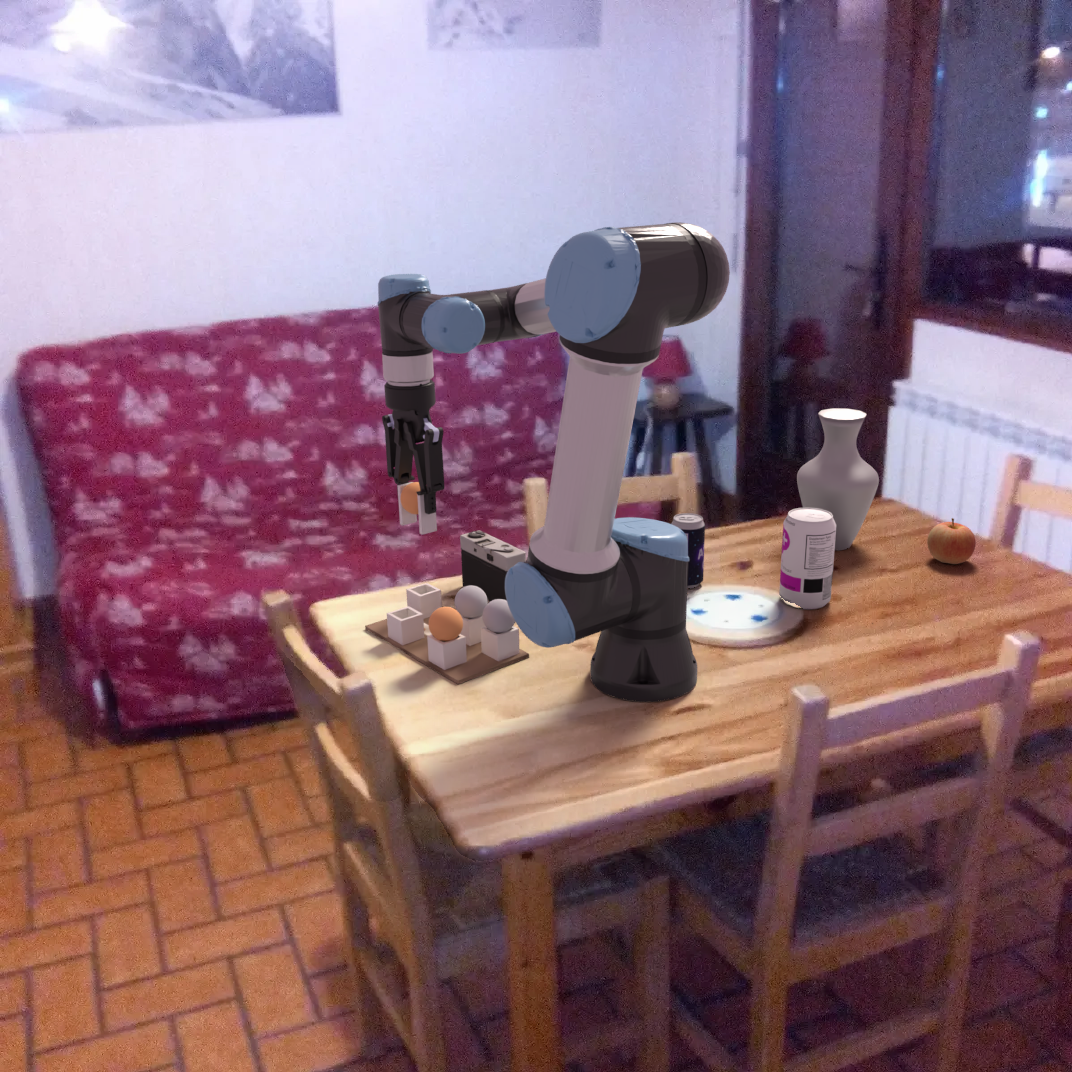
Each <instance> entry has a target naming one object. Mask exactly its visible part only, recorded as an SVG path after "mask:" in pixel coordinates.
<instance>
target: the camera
mask: <svg viewBox="0 0 1072 1072" xmlns="http://www.w3.org/2000/svg"><path fill="white" fill-rule="evenodd" d="M459 536H460V537H459V539H460V541H459V542H460V550H461V551H460V555H461V557H460V558H461V579H462V580H461V582H462V588H463V587H465V586H470V585H472V586H477V587H479V588H481V589H482V590H483V591H484V592H485V594H486V596H487V600H488V602H491V601H492V600H495V599H503V600H506V601H507V599H506V594H505V578H506V574H507V572H508V570H509V569H510V568H511V567H513V566H514V565H515V564H517V563H518V562H525V561H526V560H527V557H526V556H527V555H526V553H527V552H526V551H524V550H522V549H520V548H518V547H516V546H514V545H512V544H510V543H508V542H505V541H504V540H501V539H499V538H497V537H494V536H492V535H490V534H488V533H487V532H485V531H482V530H473V531H470V532H467V533H463V534H460V535H459Z"/></svg>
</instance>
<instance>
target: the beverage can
mask: <svg viewBox="0 0 1072 1072" xmlns="http://www.w3.org/2000/svg"><path fill="white" fill-rule="evenodd" d="M670 524H672V525H674V526H676V527H678V528H680V529H681V530H682V531H683V532H684V533H685V535H686V537H687V540H688V557H689V562H688V587H687V588H690V589H694V587H695V588H697V587H699V585H700V584H702V583H703V581H704V571H705V570H704V567H705V566H704V564H705V539H706V538H705V537H706V536H705V534H706V533H705V532H706V525H705V522H704V518H703V516H702V515H700V514H698V513H697V514H696V513H690V512H687V513H686V512H685V513H682V512H681V513H677V514H675V515H674V516H673V519H672V522H671V523H670Z"/></svg>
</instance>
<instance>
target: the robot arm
mask: <svg viewBox="0 0 1072 1072" xmlns="http://www.w3.org/2000/svg"><path fill="white" fill-rule="evenodd" d="M730 275H731V272H730V262H729V259H728V255H727V252H726V251H725V249H724V247H723V246H722V243H721V242H720V241H719V240H718V239H717V238H716V237H715V235H714V234H712V233H711V232H710V231H708V230H707V229H704V228H703V227H702V226H699V225H696V224H692V223H685V222H667V223H661V224H657V223H656V224H647V225H646V224H645V225H637V226H636V225H634V226H623V227H614V226H605V227H601V228H597V229H594V230H592V231H589V230H588V231H584V232H580V233H577V234H575V235H572V237H570V238H569V239H568V240H567V241H565V242H563V244H561V246H560V247H559V248H558V249H557V251H556V252H555V253H554V255H553V257H552V259H551V261H550V264H549V266H548V269H547V272H546V276H545V278H542V279H538V280H533V281H531V282H525V283H522V284H518V285H514V286H509V287H502V288H495V289H486V290H477V291H468V292H460V293H451V294H436V293H432V290H431V285H430V282H429V279H428V278H427V276H426V275H424V274H419V273H397V274H390V275H385V276H382V277H381V278H380V279H379V281H378V283H377V287H378V288H377V291H378V293H377V295H378V301H377V307H378V319H379V330H380V342H381V350H382V353H381V356H382V358H381V360H382V375H383V376H382V377H383V380H385V381H386V382H385V384H384V398H385V399H384V400H385V405H386V407H387V408H388V409H389V410H392V412H391V414H385V415H383V416H382V417H381V421H382V425H383V428H384V438H385V439H384V441H385V450H386V451H385V454H386V455H385V456H386V470H387V476H388V478H393V481H394V483H395V484H396V488H397V499H398V500H397V501H398V513H399V514H398V515H399V525H401V526H403V527H404V526H408V525H410V524H415V523H417V522H418V527H419V528H418V530H419V534H420V535H426V534H429V533H433V532H437V531H438V525H437V496H436V494H437V492H439V491H443V490H445V475H444V474H445V473H444V457H443V456H444V454H443V438H444V434H445V433H444V428H443V427H441V426H440V427H436V426H435V425H433V423H432V422H433V420H432V418H431V414H430V410H431V409H432V407H434V406H435V405H436V401H437V400H436V385H435V384H436V383H435V381H433V380H432V379H433V378H434V376H435V373H434V372H435V371H434V355H433V351H434V350H435V351H436V350H437V351H438V352H443V353H445V354H449V355H451V354H459V355H461V354H465V353H469V352H471V351H472V350H474V349H475V348H476V347H477V346H481V345H482V346H483V345H487V344H488V345H489V344H494V343H497V342H498V343H499V342H505V341H513V340H515V341H516V340H520V339H531V338H537V337H538V338H539V337H540V336H544V335H548V334H551V333H555V332H556V333H557V334H558V335H559V337H558V340H559V341H558V342H559V344H560V346H561V347H562V348H563V350H564V351H565V353H567V354H568V356H569V361H568V367H567V375H566V378H565V379H566V381H565V387H564V392H563V393H564V394H563V400H562V405H561V406H562V407H561V412H560V419H559V424H558V425H559V426H558V434H557V441H556V446H555V452H554V453H555V454H554V460H553V464H552V471H551V472H552V473H551V478H550V479H551V480H550V485H549V494H548V498H547V499H548V501H547V505H546V512H545V519H544V523H543V524H544V525H543V526H541V527H540V528H538V529H536V530H535V531H534V532H533V533H532V535H531V536H530V539H529V544H528V545H529V546H528V552H527V557H526V561H525V562H518V563H517V564H515V565H514V566H513V567H511V568H510V569H509V570H508V572H507V574H506V578H505V594H506V599H507V603H508V606H509V609H510V612H511V613H512V615H513V618H514V620H515V623H516V625H517V628H518V629H519V631H521V632H522V633H523V635H524V636H526V638H527V639H529V641H531V642H532V643H534V645H535V644H536V645H537V646H539V647H542V648H556V647H559V646H563V645H569V644H572V643H575V641H580V640H582V639H584V638H586V637H589V636H592V635H595V634H597V633H600V634H599V637H598V640H597V643H596V646H595V651H594V653H593V655H592V657H591V660H590V664H589V665H590V668H589V669H590V670H589V671H590V676H589V677H590V681H591V684H592V685H593V686H594V687H595V688H597V690H598V691H600V692H601V693H603V694H605V695H607V696H610V697H613V698H615V699H619V700H623V701H628V702H638V703H654V702H655V703H656V702H657V703H658V702H663V701H664V702H665V701H669V700H673V699H677V698H679V697H682V696H684V695H685V694H688V693H689V692H690V691H692V690H693V688H695V686H696V685H697V682H698V662H697V659H696V657H695V655H694V652H693V648H692V647H693V646H692V643H691V641H690V637H689V634H688V630H687V608H688V606H687V605H688V604H687V603H688V589H687V587H688V562H689V557H688V540H687V537H686V535H685V533H684V532H683V531H682V530H681V529H680V528H678V527H676V526H674V525H672V524H671V523H669V522H665V521H661V520H657V519H653V518H645V517H633V516H630V517H617V518H616V513H617V508H618V502H619V498H620V491H621V487H622V481H623V476H624V471H625V464H626V459H627V455H628V451H629V444H630V439H631V434H632V428H633V422H634V419H635V412H636V409H637V408H636V407H637V402H638V396H639V392H640V391H639V390H640V387H641V381H642V374H643V370H644V368H645V367H648V366H650V365H651V364H652V363H654V362H655V361H656V360H658V359H659V356H660V352H661V345H662V342H663V336H664V332H665V329H668V328H674V327H679V326H686V325H689V324H691V323H695V322H698V321H700V320H701V319H703V318H705V317H706V316H708V315H709V314H711V313H712V312H713V311H714V310H715V309H717V307H718V306H719V305H720V303H721V302H722V300H723V299H724V297H725V294H726V292H727V289H728V286H729V284H730V283H729V281H730ZM413 463H414V464H415V465H414V466H415V470H416V475H417V479H418V481H417V482H419V486H420V491H418V492H417V498H418V514H411V513H409V512H407V511H406V510H405V509H404V508H403V506H402V504H401V500H400V497H401V492H402V490H403V489H404V487H405V486H407V485H408V484H410V483H413V482H414V480H415V479H416V477H415V476H414V475H412V473H413ZM417 516H418V517H417Z"/></svg>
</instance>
